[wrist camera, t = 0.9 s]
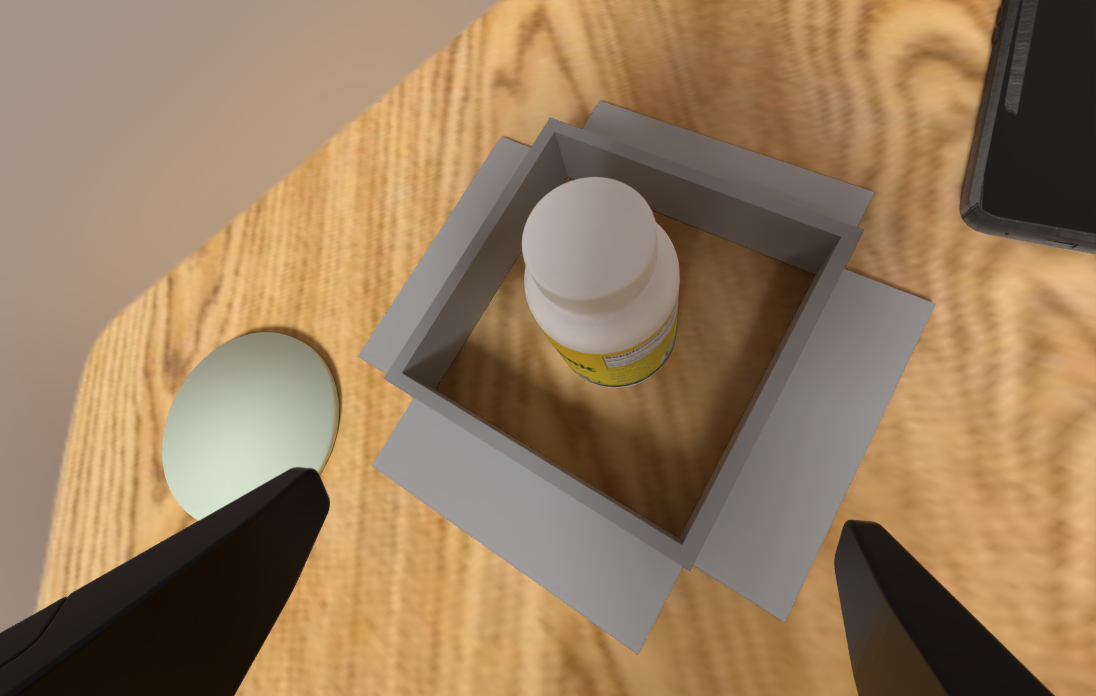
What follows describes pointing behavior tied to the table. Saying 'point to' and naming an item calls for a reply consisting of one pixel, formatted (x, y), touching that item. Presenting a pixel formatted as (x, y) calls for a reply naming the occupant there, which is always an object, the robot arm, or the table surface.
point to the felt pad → (248, 420)
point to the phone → (1037, 128)
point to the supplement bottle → (602, 280)
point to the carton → (762, 433)
